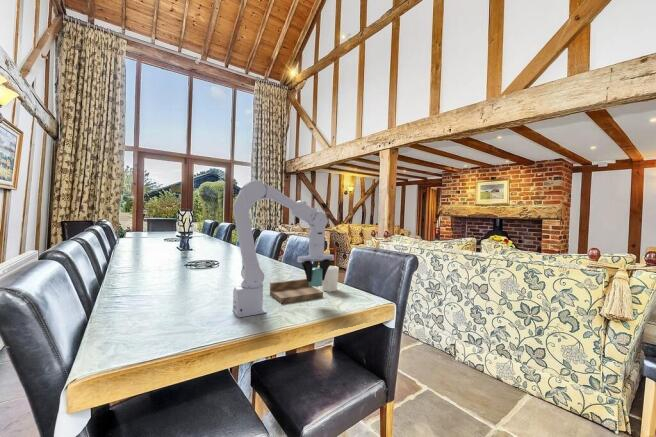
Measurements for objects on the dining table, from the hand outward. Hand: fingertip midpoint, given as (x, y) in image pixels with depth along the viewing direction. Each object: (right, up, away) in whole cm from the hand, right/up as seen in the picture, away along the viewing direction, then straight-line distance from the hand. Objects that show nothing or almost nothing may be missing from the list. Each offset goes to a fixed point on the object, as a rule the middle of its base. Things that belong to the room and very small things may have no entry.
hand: (315, 280), depth 106 cm
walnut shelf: (-8, -8, +9) cm, 15 cm away
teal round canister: (0, -2, 0) cm, 2 cm away
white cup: (+5, -9, +20) cm, 23 cm away
